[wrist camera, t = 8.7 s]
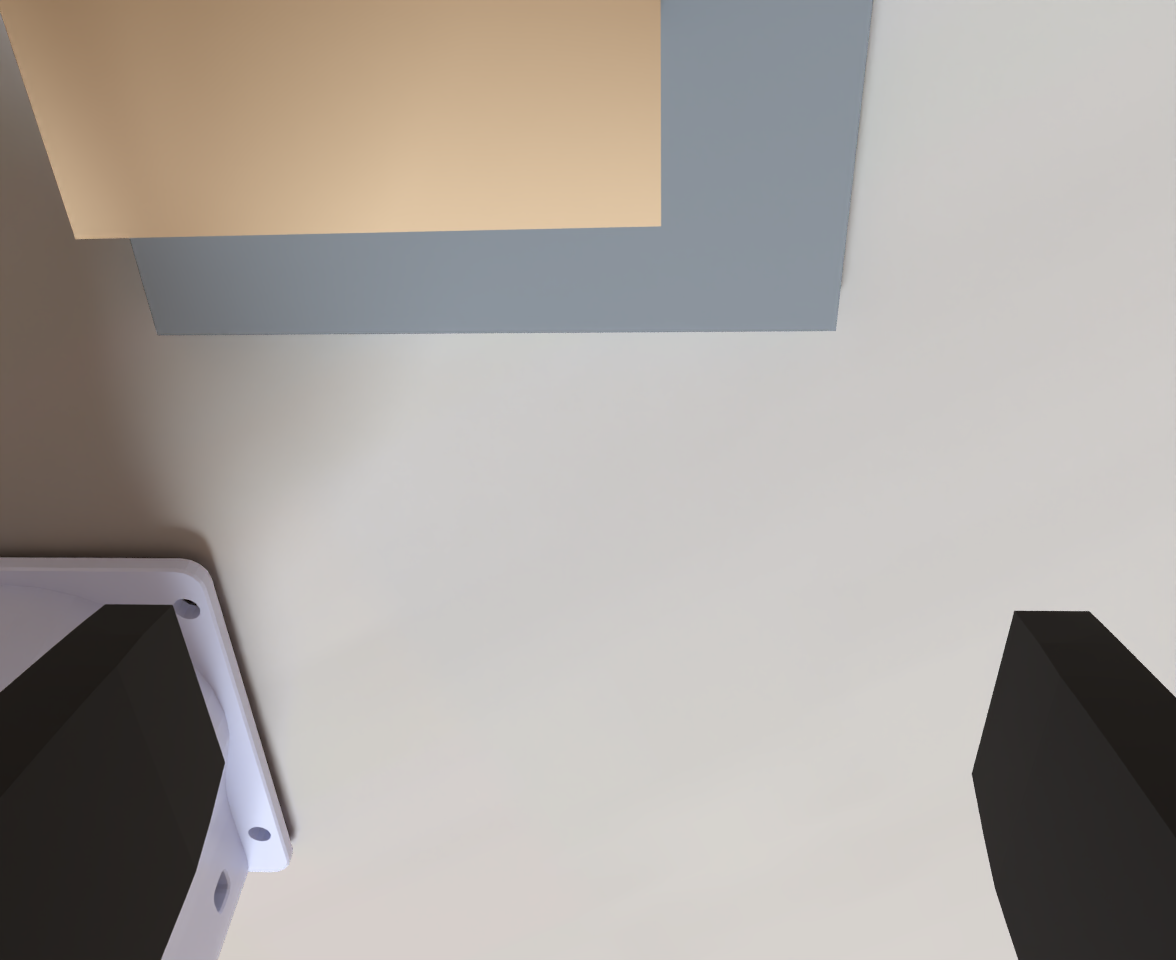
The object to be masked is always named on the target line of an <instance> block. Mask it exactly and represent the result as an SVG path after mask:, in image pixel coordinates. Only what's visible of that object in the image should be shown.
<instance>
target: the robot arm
mask: <svg viewBox="0 0 1176 960" xmlns="http://www.w3.org/2000/svg"><path fill="white" fill-rule="evenodd" d="M183 599H187V600H191V601H193V602H194V603H196V604H197V605H198V606H195V605H190V604H188V603H187V602H185V601H184V600H183ZM972 777H973V782H974V787H975V793H976V798H977V803H978V808H979V814H980V819H981V824H982V829H983V834H984V839H985V844H986V848H987V853H988V858H989V862H990V867H991V872H992V876H993V881H994V885H995V889H996V892H997V896H998V899H999V902H1000V905H1001V908H1002V911H1003V914H1004V918H1005V921H1006V924H1007V927H1008V930H1009V933H1010V936H1011V939H1012V942H1013V945H1014V948H1015V951H1016V954H1017V957H1018V960H1176V697H1175V696H1174V695H1173V694H1172V693H1171V692H1170V691H1169V690H1168V689H1167V688H1166V687H1165V686H1164V685H1163V684H1162V683H1161V682H1160V681H1159V680H1158V679H1157V678H1156V677H1155V676H1154V675H1153V674H1152V673H1151V672H1150V671H1149V670H1148V669H1147V668H1146V667H1145V666H1144V665H1143V664H1142V663H1141V662H1140V661H1139V660H1138V659H1137V658H1136V657H1135V656H1134V655H1133V654H1132V653H1131V652H1130V651H1129V650H1128V649H1127V648H1126V647H1125V646H1124V645H1123V644H1122V643H1121V642H1120V641H1119V640H1118V639H1117V638H1116V637H1115V636H1114V635H1113V634H1112V633H1111V632H1110V631H1109V630H1108V629H1107V628H1106V627H1105V626H1104V625H1103V624H1102V623H1101V622H1100V621H1099V620H1098V619H1097V618H1096V617H1095V616H1094V615H1092V614H1091V613H1090V612H1089V611H1014V615H1013V619H1012V622H1011V626H1010V630H1009V634H1008V638H1007V641H1006V645H1005V649H1004V653H1003V657H1002V661H1001V664H1000V668H999V672H998V676H997V680H996V684H995V687H994V691H993V695H992V699H991V703H990V706H989V710H988V714H987V718H986V722H985V726H984V729H983V733H982V737H981V741H980V745H979V749H978V752H977V756H976V760H975V764H974V768H973V772H972ZM292 854H293V848H292V845H291V841H290V838H289V835H288V831H287V828H286V824H285V821H284V818H283V814H282V811H281V808H280V804H279V801H278V798H277V794H276V791H275V788H274V784H273V781H272V778H271V774H270V771H269V768H268V764H267V761H266V758H265V754H264V751H263V748H262V744H261V741H260V738H259V734H258V731H257V728H256V724H255V721H254V718H253V714H252V711H251V708H250V704H249V701H248V698H247V694H246V691H245V688H244V684H243V681H242V678H241V674H240V671H239V668H238V664H237V661H236V658H235V654H234V651H233V648H232V644H231V641H230V638H229V634H228V631H227V628H226V624H225V621H224V618H223V614H222V611H221V608H220V604H219V601H218V598H217V594H216V591H215V588H214V584H213V581H212V578H211V576H210V574H209V572H208V571H207V570H206V569H205V568H204V567H203V566H202V565H200V564H199V563H196V562H194V561H192V560H188V559H182V558H14V557H0V960H218V957H219V954H220V952H221V949H222V946H223V943H224V940H225V937H226V934H227V931H228V928H229V925H230V923H231V920H232V917H233V914H234V911H235V908H236V905H237V902H238V899H239V897H240V894H241V891H242V888H243V885H244V882H245V879H246V876H247V873H248V872H277V871H281V870H283V869H285V868H287V866H288V865H289V863H290V860H291V857H292Z"/></svg>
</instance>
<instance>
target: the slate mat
mask: <svg viewBox="0 0 1176 960" xmlns="http://www.w3.org/2000/svg"><path fill="white" fill-rule="evenodd" d="M872 4H873V0H661V226H653V227H608V228H562V229H516V230H470V231H425V232H379V233H333V234H288V235H242V236H196V237H151V238H130V241H131V245H132V248H133V252H134V255H135V259H136V262H137V266H138V269H139V273H140V276H141V280H142V283H143V286H144V290H145V293H146V297H147V300H148V304H149V307H150V311H151V314H152V318H153V321H154V325H155V328H156V331H157V335H277V334H434V333H590V332H746V331H836V324H837V315H838V306H839V297H840V288H841V280H842V271H843V262H844V253H845V244H846V235H847V226H848V217H849V209H850V200H851V191H852V182H853V173H854V164H855V155H856V146H857V138H858V129H859V120H860V111H861V102H862V93H863V84H864V75H865V67H866V58H867V49H868V40H869V31H870V22H871V13H872Z"/></svg>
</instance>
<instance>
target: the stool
mask: <svg viewBox="0 0 1176 960" xmlns="http://www.w3.org/2000/svg"><path fill="white" fill-rule="evenodd" d="M0 12H1V15H2V18H3V21H4V24H5V27H6V31H7V34H8V37H9V40H10V43H11V46H12V49H13V52H14V55H15V58H16V61H17V64H18V67H19V70H20V73H21V76H22V79H23V82H24V85H25V88H26V91H27V94H28V97H29V100H30V103H31V106H32V109H33V112H34V115H35V118H36V121H37V124H38V127H39V130H40V133H41V137H42V140H43V143H44V146H45V149H46V152H47V155H48V158H49V161H50V164H51V167H52V170H53V173H54V176H55V179H56V182H57V185H58V188H59V191H60V194H61V197H62V200H63V203H64V206H65V209H66V212H67V215H68V218H69V221H70V224H71V227H72V230H73V233H74V236H75V239H105V238H151V237H196V236H242V235H288V234H333V233H379V232H425V231H470V230H516V229H562V228H608V227H653V226H661V0H0Z"/></svg>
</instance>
